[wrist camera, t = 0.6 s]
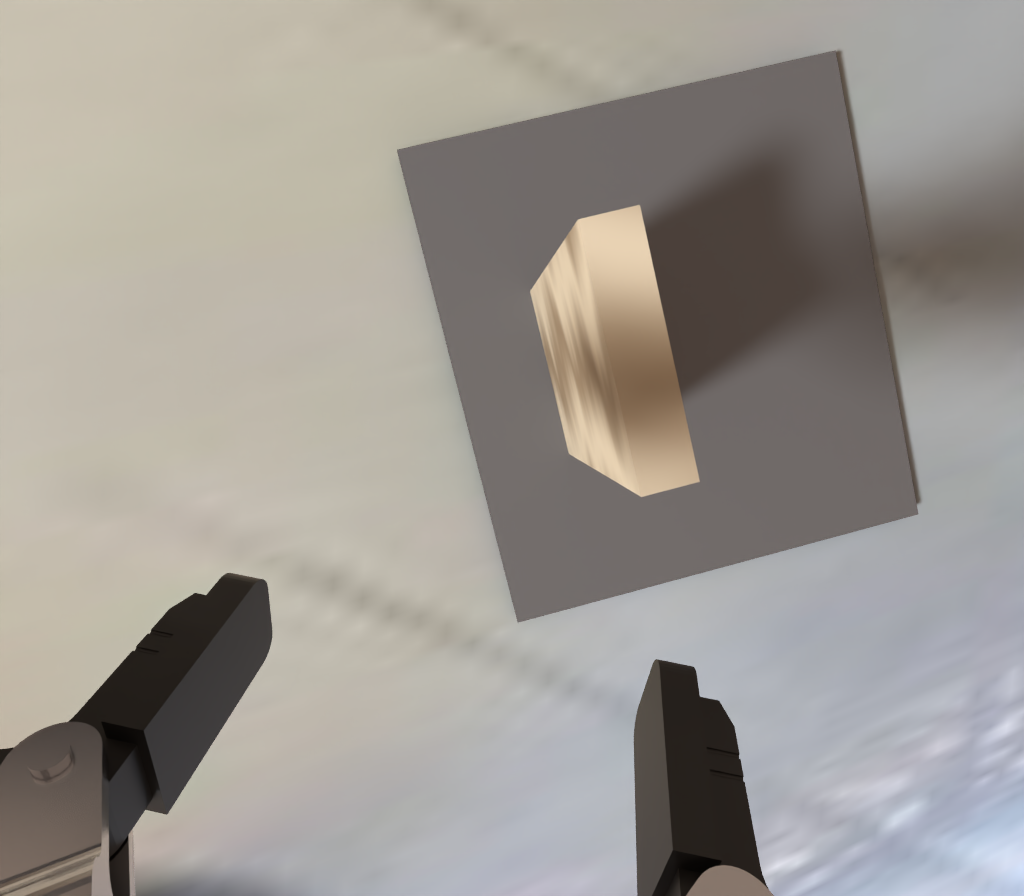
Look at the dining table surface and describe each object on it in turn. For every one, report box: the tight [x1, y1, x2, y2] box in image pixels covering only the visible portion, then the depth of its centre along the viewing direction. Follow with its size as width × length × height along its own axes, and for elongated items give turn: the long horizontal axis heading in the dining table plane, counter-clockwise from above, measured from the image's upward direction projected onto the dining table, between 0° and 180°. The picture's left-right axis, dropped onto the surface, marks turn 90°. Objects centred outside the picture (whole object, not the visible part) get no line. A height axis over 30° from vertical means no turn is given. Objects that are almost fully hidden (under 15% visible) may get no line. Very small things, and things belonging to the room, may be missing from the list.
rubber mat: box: [397, 51, 918, 622], centre depth 34 cm, size 26×24×1 cm
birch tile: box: [530, 205, 700, 497], centre depth 27 cm, size 9×2×14 cm, turn 14°
